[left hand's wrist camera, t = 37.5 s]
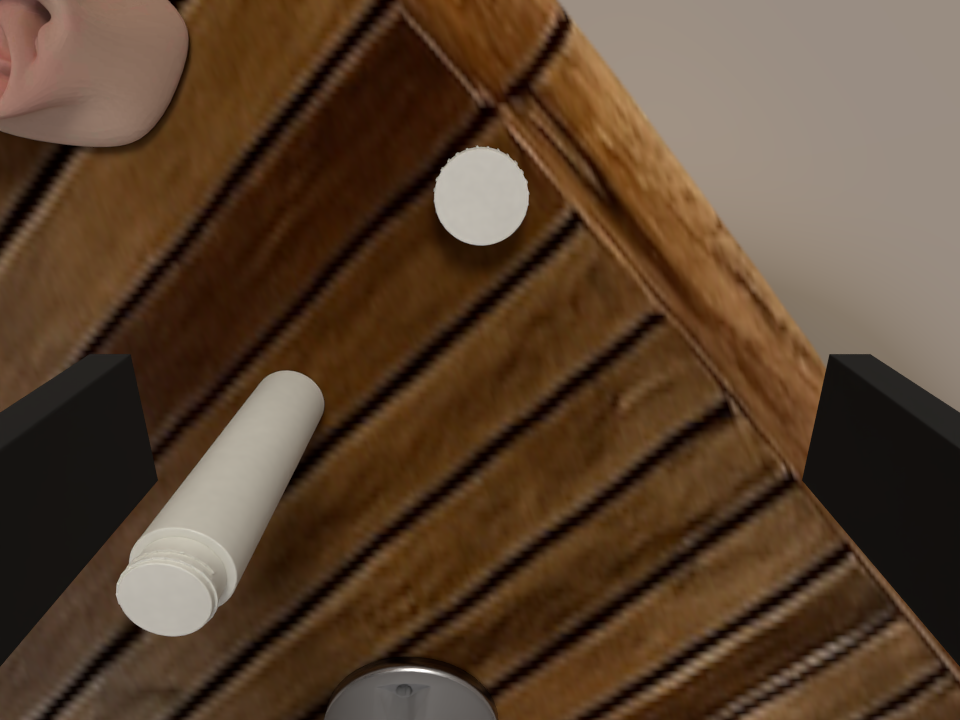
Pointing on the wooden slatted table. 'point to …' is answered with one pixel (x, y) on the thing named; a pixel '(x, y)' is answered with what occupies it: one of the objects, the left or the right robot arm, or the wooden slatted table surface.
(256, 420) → the jar
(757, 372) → the wooden slatted table surface
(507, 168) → the lid
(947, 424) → the left robot arm
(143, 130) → the anatomical model
